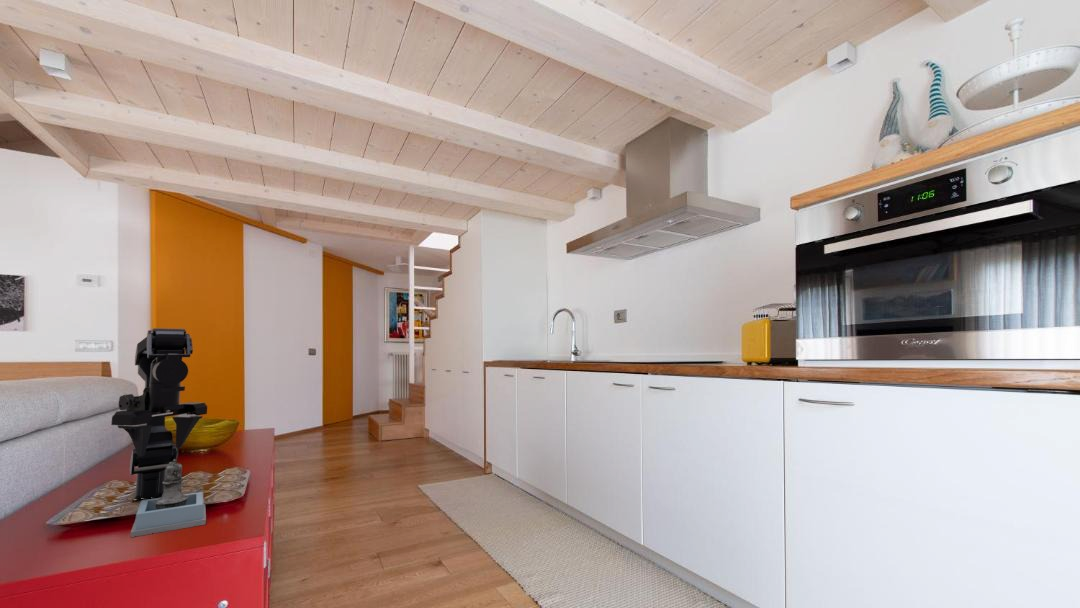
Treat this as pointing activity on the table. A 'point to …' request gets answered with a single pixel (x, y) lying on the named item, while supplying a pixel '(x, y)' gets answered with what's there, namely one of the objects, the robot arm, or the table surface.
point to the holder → (169, 516)
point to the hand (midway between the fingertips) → (160, 451)
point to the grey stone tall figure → (172, 488)
